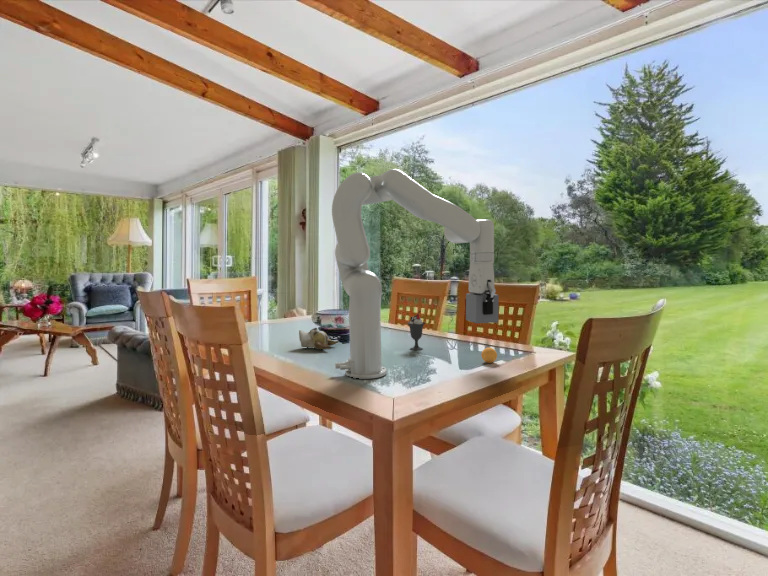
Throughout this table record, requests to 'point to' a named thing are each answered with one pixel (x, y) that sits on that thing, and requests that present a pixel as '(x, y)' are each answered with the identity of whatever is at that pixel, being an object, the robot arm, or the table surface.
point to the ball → (489, 355)
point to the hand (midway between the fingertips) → (481, 312)
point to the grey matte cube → (480, 309)
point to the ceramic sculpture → (315, 339)
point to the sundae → (416, 330)
